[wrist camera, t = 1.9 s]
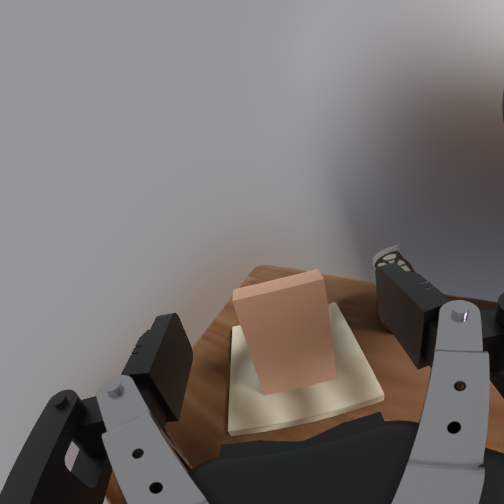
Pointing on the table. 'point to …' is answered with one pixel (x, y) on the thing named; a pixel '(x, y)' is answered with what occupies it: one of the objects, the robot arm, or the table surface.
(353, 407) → the board
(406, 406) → the table surface
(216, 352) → the table surface
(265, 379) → the tile
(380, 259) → the food container
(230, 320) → the table surface
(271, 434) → the table surface
